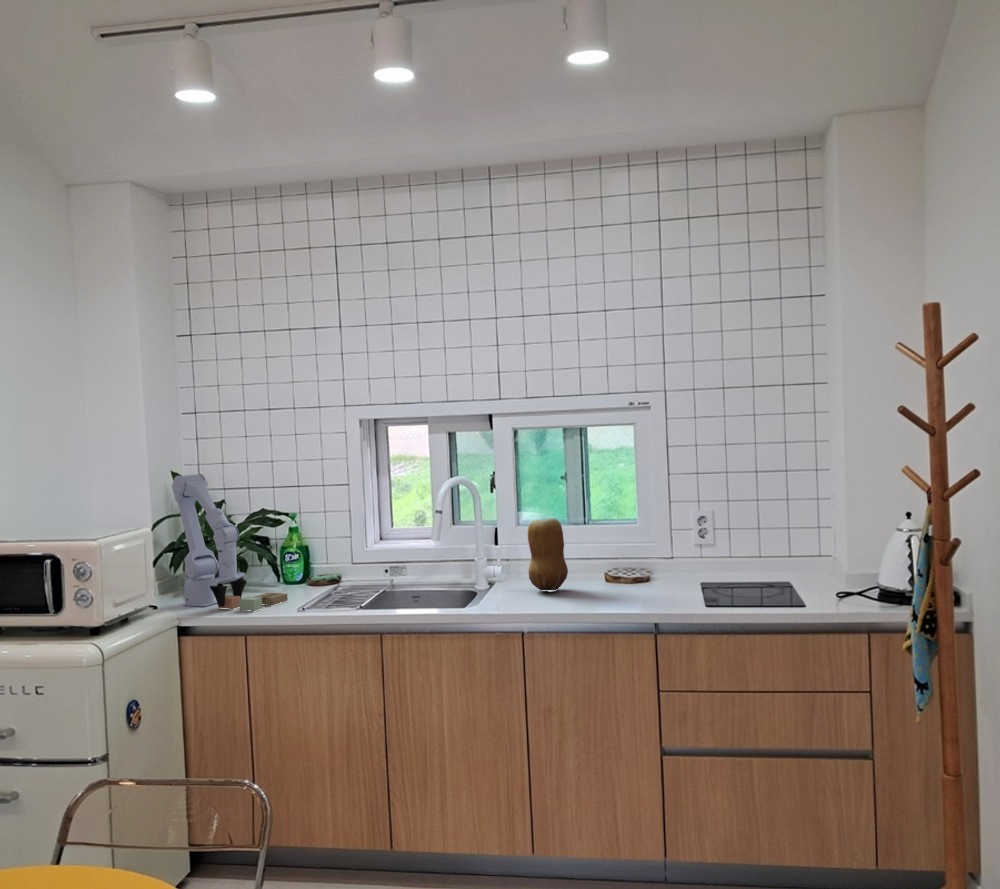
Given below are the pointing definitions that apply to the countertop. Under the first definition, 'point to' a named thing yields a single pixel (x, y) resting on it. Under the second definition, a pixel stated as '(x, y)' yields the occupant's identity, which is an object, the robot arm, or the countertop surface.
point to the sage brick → (250, 603)
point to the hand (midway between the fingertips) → (229, 604)
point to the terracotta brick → (231, 602)
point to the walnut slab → (273, 598)
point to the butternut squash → (546, 554)
